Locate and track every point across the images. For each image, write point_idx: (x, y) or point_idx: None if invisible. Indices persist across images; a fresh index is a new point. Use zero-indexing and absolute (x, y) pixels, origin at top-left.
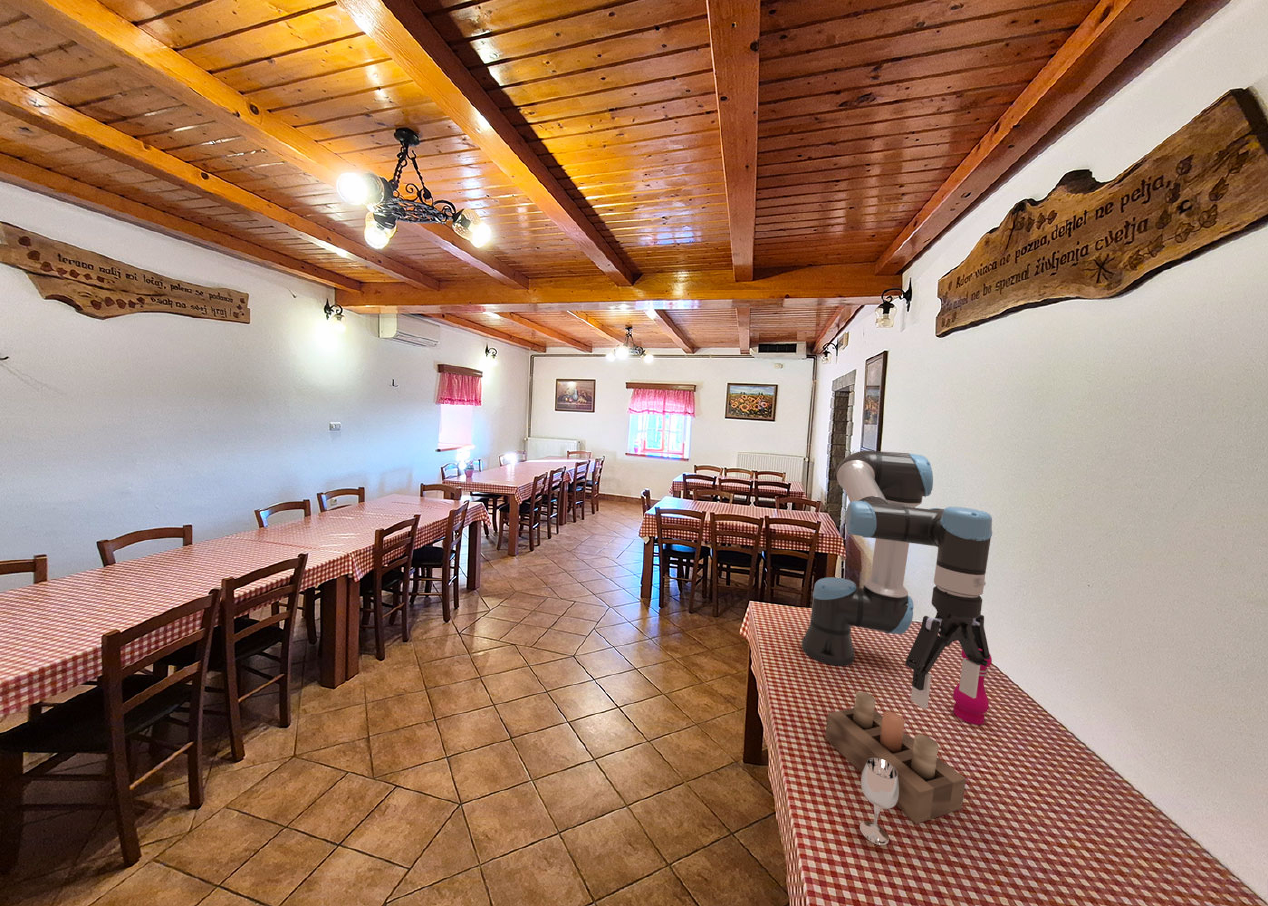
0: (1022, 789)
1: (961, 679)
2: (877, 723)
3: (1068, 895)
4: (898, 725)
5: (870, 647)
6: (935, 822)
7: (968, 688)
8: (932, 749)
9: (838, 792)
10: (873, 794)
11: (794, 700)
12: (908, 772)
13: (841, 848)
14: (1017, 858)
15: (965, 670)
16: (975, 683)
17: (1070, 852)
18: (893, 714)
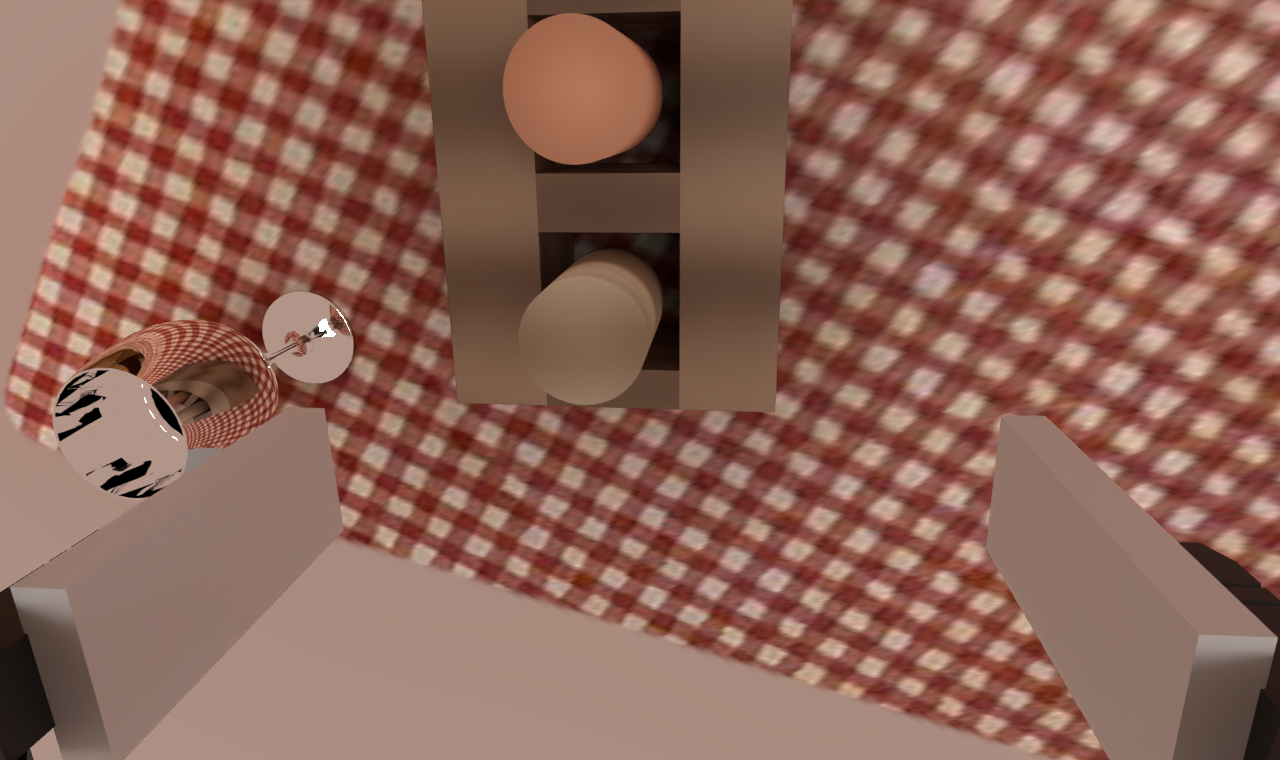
0: (1202, 377)
1: (1045, 484)
2: None
3: (760, 668)
4: (550, 158)
5: None
6: None
7: (1017, 532)
8: (559, 399)
9: (293, 144)
10: (123, 427)
11: None
12: (509, 299)
13: None
14: (744, 556)
15: (1100, 589)
16: (1045, 646)
17: (973, 604)
18: (603, 58)
